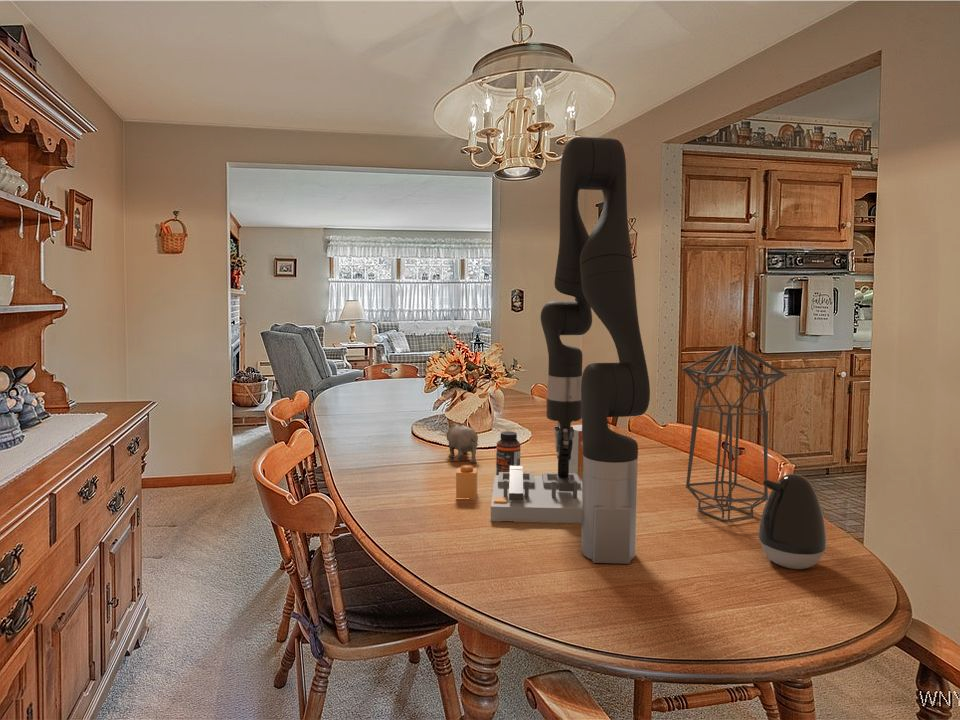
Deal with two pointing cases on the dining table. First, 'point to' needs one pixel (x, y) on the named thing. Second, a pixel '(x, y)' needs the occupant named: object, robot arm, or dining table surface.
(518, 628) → the dining table surface
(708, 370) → the geometric lantern
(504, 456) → the supplement bottle
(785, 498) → the pump dispenser
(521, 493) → the breaker
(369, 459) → the dining table surface
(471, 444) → the rhinoceros figurine
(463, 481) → the cap
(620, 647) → the dining table surface
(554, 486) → the breaker panel
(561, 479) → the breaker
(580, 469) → the small box
